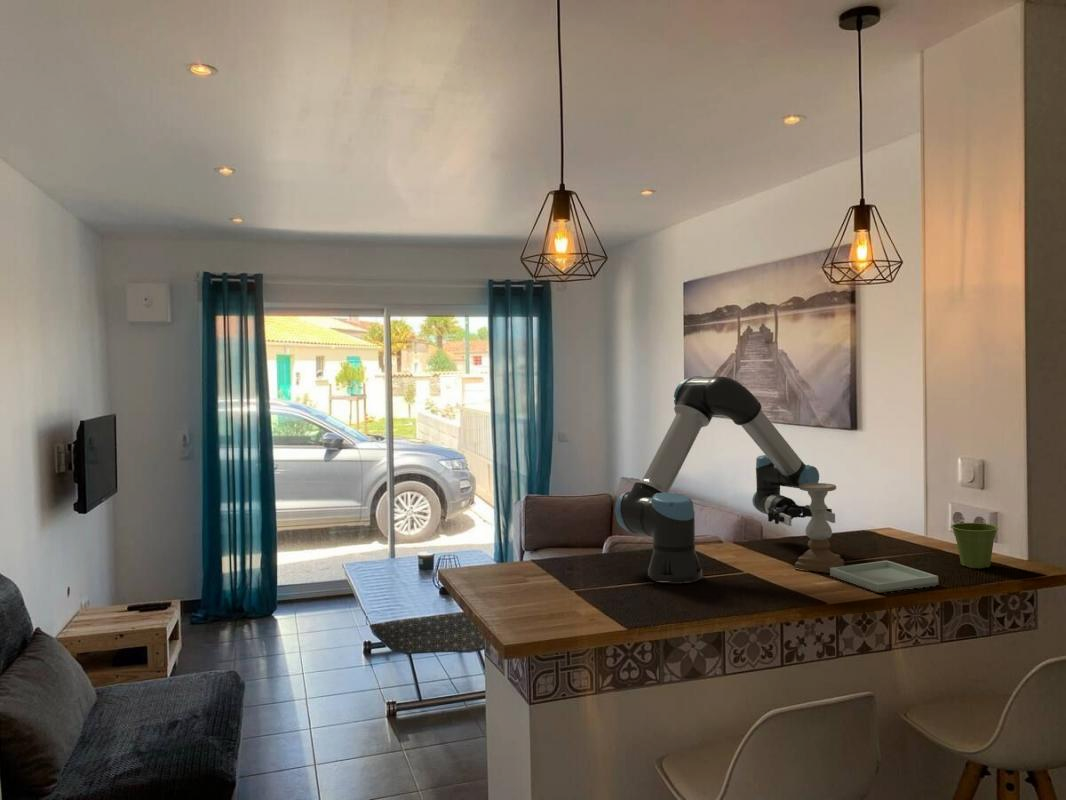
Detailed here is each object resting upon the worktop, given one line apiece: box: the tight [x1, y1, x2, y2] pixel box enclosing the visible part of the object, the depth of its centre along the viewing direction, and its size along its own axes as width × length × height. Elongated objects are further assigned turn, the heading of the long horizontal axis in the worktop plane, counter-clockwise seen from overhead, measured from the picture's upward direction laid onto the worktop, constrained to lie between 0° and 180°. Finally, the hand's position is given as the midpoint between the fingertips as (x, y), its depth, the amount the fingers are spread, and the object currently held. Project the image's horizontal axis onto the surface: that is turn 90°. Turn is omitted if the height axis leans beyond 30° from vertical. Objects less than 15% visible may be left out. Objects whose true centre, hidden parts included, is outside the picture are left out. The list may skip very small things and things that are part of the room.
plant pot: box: [950, 522, 999, 570], centre depth 234 cm, size 12×12×11 cm
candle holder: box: [794, 482, 845, 573], centre depth 239 cm, size 11×11×24 cm
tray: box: [829, 560, 939, 592], centre depth 223 cm, size 19×19×2 cm
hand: (812, 519), depth 244 cm, fingers open, 13 cm apart
